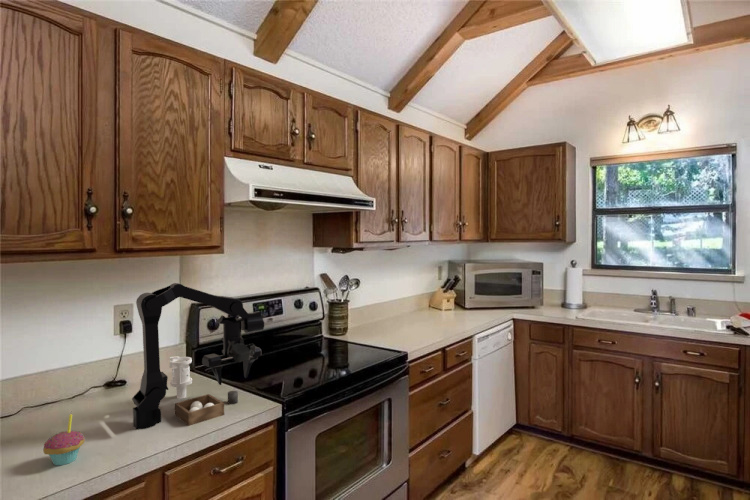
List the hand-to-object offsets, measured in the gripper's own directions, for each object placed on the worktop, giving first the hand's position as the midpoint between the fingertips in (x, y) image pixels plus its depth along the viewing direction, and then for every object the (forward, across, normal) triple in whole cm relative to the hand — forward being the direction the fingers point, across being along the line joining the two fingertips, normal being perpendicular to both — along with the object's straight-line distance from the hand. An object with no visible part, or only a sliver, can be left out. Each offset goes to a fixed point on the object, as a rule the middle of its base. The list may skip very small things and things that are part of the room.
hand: (233, 381), depth 146 cm
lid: (+9, 0, 0) cm, 9 cm away
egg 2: (+7, -15, -4) cm, 17 cm away
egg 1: (+7, -12, 0) cm, 14 cm away
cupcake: (+8, -47, -3) cm, 48 cm away
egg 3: (+7, -10, -4) cm, 13 cm away
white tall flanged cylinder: (+8, -10, +18) cm, 22 cm away
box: (+8, -12, -2) cm, 15 cm away
